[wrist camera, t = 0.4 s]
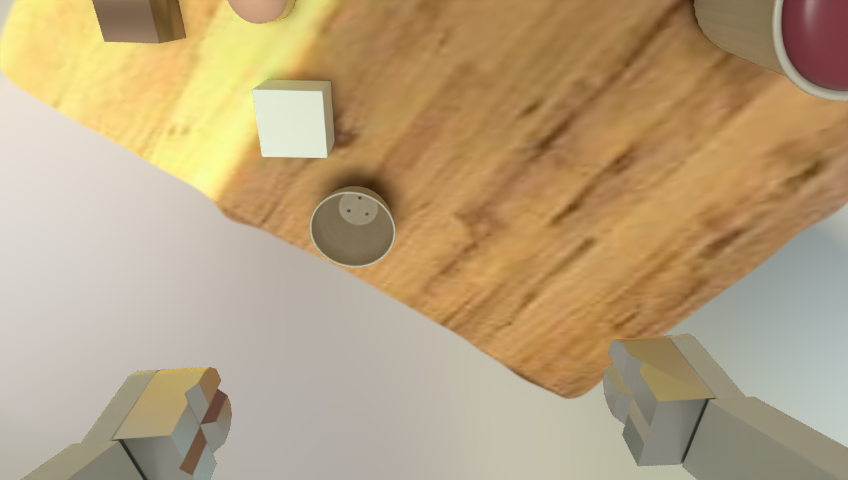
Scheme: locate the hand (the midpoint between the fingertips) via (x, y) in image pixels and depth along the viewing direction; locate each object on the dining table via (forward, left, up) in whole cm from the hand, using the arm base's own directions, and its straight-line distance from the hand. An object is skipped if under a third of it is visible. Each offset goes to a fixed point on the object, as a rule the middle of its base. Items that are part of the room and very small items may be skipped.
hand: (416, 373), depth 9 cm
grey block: (+6, -12, -46) cm, 48 cm away
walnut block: (-4, -26, -46) cm, 53 cm away
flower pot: (+18, -6, -46) cm, 49 cm away
